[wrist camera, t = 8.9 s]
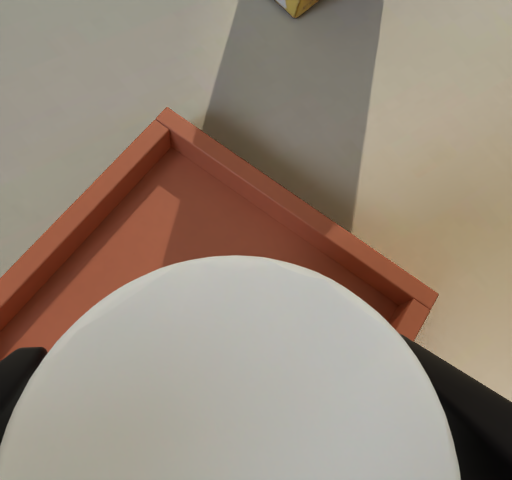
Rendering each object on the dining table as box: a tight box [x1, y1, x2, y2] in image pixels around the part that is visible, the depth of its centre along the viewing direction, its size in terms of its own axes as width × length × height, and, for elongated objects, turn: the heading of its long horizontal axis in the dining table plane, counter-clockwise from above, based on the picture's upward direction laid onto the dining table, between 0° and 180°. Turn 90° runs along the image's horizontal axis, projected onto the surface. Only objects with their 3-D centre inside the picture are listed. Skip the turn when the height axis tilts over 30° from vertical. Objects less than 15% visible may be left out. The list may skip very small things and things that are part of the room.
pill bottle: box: [0, 255, 461, 480], centre depth 9 cm, size 6×6×10 cm
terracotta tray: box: [0, 107, 439, 361], centre depth 17 cm, size 14×14×2 cm
